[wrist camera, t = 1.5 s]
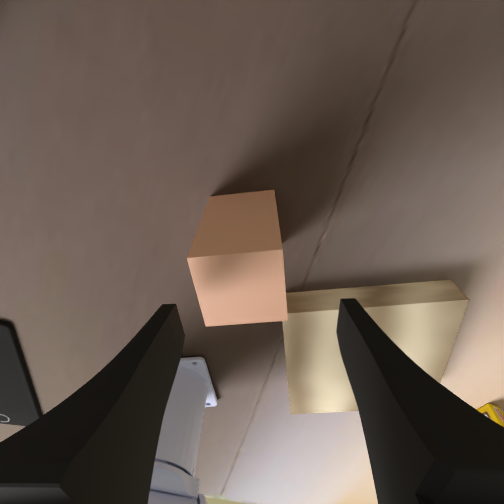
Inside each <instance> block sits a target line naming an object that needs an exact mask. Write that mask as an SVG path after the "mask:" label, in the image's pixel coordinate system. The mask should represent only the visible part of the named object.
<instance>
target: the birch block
mask: <svg viewBox="0 0 504 504" xmlns="http://www.w3.org/2000/svg"><path fill="white" fill-rule="evenodd" d="M344 298H355V299H356V300H357V301H358V302H359V303H360V304H361V306H362V307H363V308H364V309H365V311H366V312H367V313H368V314H369V315H370V317H371V318H372V319H373V320H374V321H375V322H376V324H377V325H378V326H379V327H380V328H381V329H382V330H383V331H384V332H385V333H386V334H387V336H388V337H389V338H390V339H391V340H392V341H393V342H394V343H395V344H396V345H397V346H398V347H399V348H400V349H401V350H402V351H403V352H404V353H405V354H406V355H407V356H408V357H409V358H410V359H412V360H413V361H414V362H415V363H416V364H417V365H418V366H419V367H421V368H422V369H423V370H424V371H425V372H426V373H428V374H429V375H430V376H431V377H432V378H434V379H435V380H436V381H437V382H439V383H440V382H441V379H442V376H443V374H444V371H445V368H446V365H447V362H448V359H449V356H450V354H451V351H452V348H453V345H454V342H455V339H456V336H457V334H458V331H459V328H460V325H461V322H462V319H463V316H464V313H465V311H466V308H467V305H468V302H469V299H468V298H467V297H466V296H465V294H464V293H463V292H462V291H461V290H460V289H459V288H458V287H457V286H456V285H455V284H454V283H453V282H452V280H440V281H428V282H415V283H403V284H390V285H378V286H366V287H353V288H341V289H329V290H316V291H304V292H291V293H286V302H287V315H288V321H282V325H283V336H284V347H285V359H286V370H287V381H288V393H289V403H290V413H291V414H306V413H325V412H345V411H359V410H358V407H357V403H356V400H355V397H354V394H353V391H352V388H351V385H350V382H349V379H348V376H347V373H346V369H345V366H344V363H343V360H342V357H341V353H340V349H339V344H338V339H337V333H336V329H337V321H338V314H339V306H340V299H344Z"/></svg>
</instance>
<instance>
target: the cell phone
mask: <svg viewBox="0 0 504 504" xmlns="http://www.w3.org/2000/svg"><path fill="white" fill-rule="evenodd" d="M41 416H42V413H41V410H40V407H39V404H38V401H37V397H36V394H35V391H34V388H33V385H32V382H31V379H30V376H29V373H28V370H27V367H26V364H25V361H24V358H23V354H22V351H21V348H20V345H19V342H18V339H17V336H16V333H15V330H14V327H13V325H12V324H11V323H10V322H7V321H3V320H0V423H2V424H11V425H20V426H28V425H29V424H31V423H32V422H34V421H36V420H37V419H39V418H40V417H41Z"/></svg>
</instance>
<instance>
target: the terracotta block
mask: <svg viewBox="0 0 504 504" xmlns="http://www.w3.org/2000/svg"><path fill="white" fill-rule="evenodd" d="M187 261H188V264H189V268H190V271H191V275H192V279H193V282H194V286H195V289H196V293H197V297H198V300H199V304H200V307H201V311H202V315H203V318H204V322H205V325H206V327H207V326H221V325H234V324H248V323H262V322H275V321H288V315H287V302H286V288H285V275H284V261H283V249H282V241H281V234H280V227H279V220H278V213H277V206H276V199H275V191H274V190H265V191H256V192H247V193H237V194H228V195H219V196H210V198H209V201H208V204H207V206H206V209H205V212H204V214H203V217H202V219H201V222H200V225H199V227H198V230H197V233H196V235H195V238H194V241H193V243H192V246H191V248H190V251H189V254H188V256H187Z"/></svg>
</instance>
